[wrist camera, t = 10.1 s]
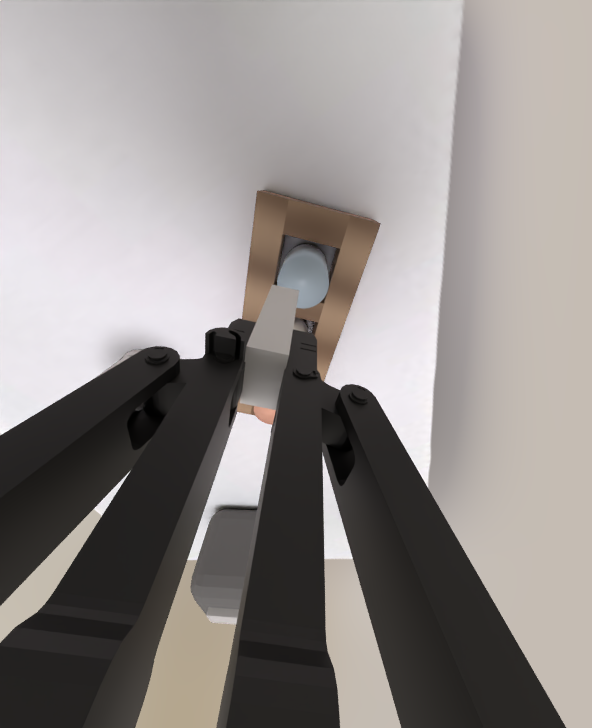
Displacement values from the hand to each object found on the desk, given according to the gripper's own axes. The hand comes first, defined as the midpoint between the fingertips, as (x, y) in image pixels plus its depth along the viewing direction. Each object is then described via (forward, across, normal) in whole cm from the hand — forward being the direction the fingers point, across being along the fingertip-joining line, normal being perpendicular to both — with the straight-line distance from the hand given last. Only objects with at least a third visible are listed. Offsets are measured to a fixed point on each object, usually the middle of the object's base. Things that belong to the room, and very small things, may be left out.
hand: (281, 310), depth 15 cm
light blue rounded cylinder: (+11, +1, 0) cm, 11 cm away
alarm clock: (+13, +2, -52) cm, 54 cm away
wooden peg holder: (+13, +1, -7) cm, 15 cm away
